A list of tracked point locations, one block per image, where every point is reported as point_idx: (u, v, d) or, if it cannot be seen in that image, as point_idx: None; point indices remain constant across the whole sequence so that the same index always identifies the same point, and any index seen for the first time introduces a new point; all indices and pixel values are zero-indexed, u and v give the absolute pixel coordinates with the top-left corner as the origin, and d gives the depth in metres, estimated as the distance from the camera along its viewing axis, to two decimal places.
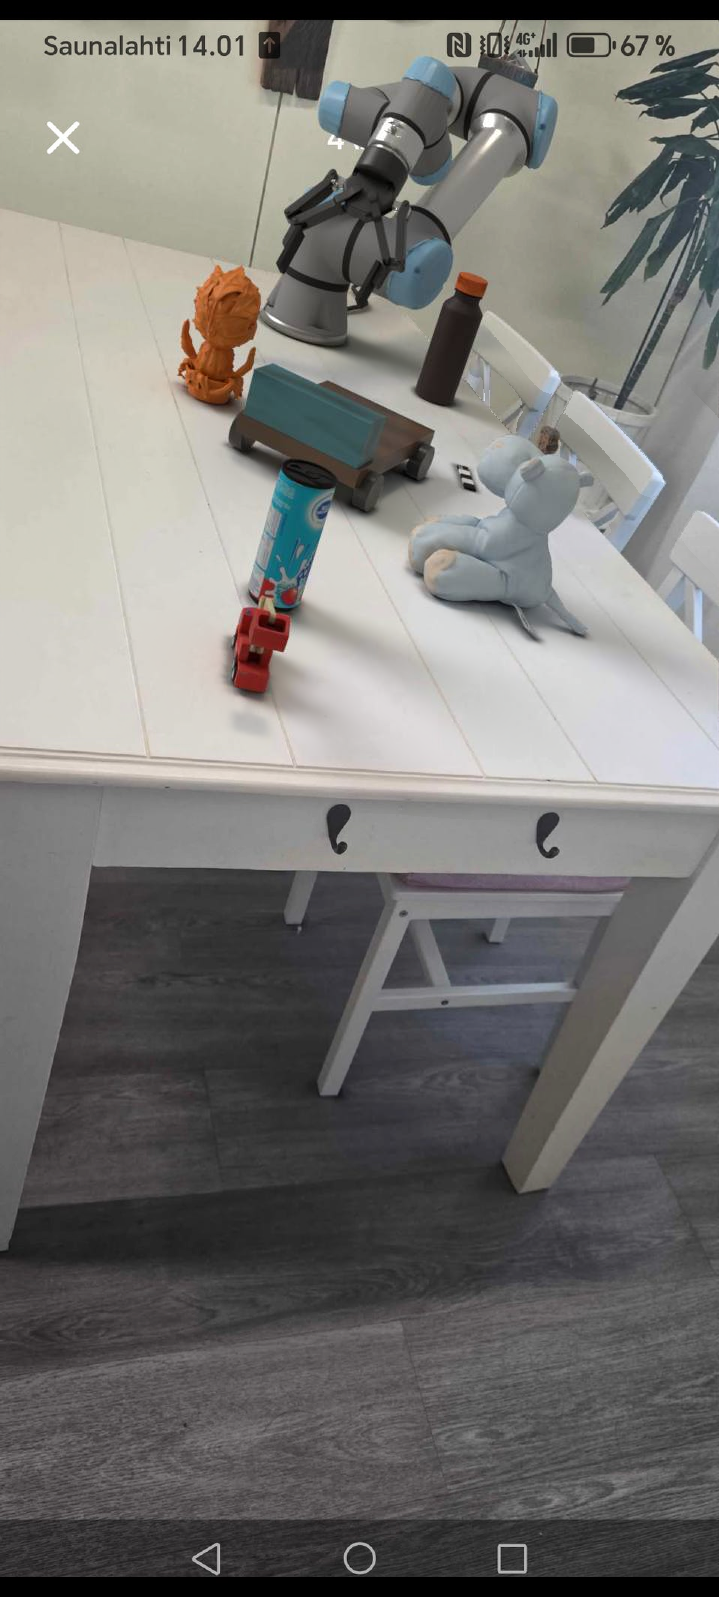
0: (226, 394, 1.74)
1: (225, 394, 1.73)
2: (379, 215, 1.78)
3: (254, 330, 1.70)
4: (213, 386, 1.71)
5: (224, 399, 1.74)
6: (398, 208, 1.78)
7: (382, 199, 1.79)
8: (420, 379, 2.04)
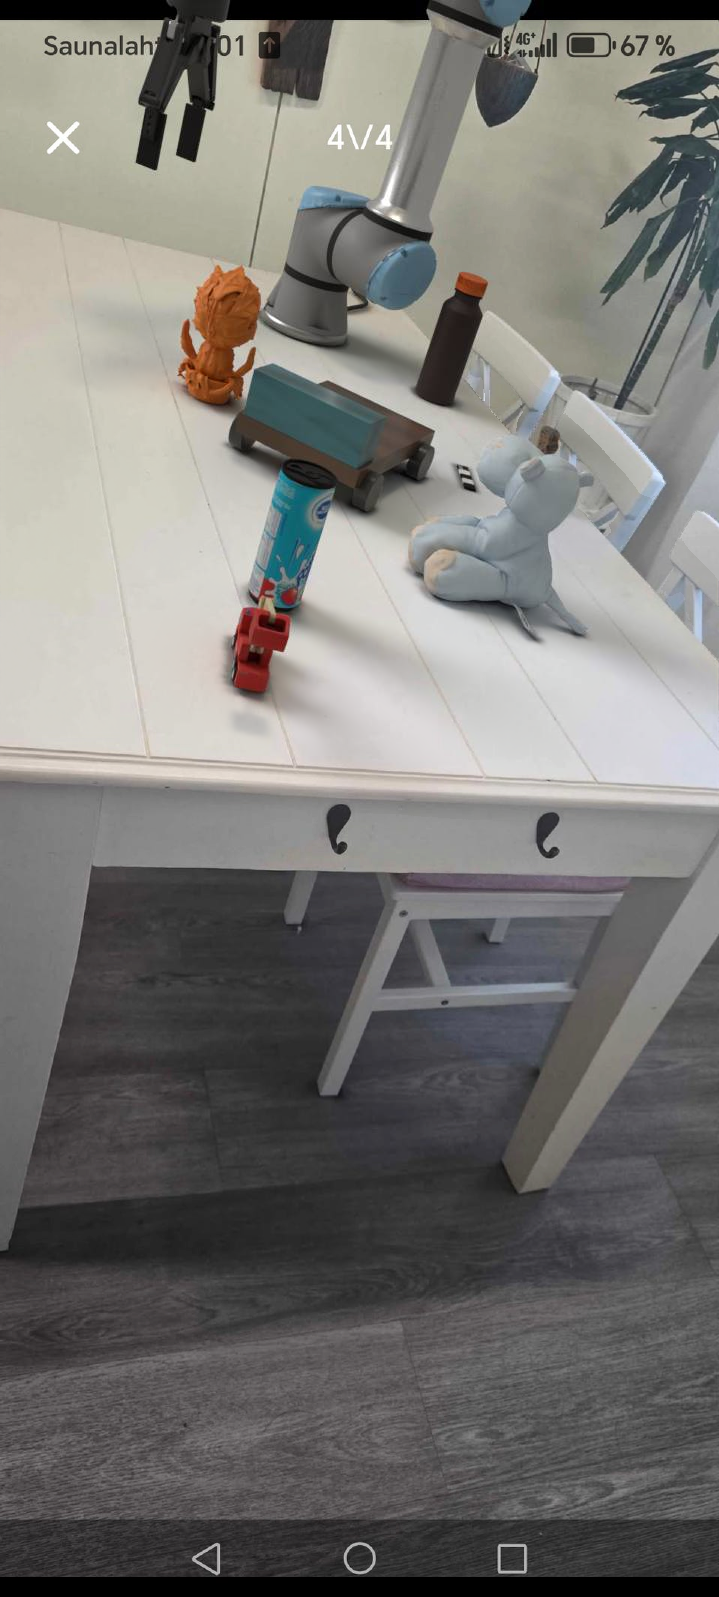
0: (226, 394, 1.74)
1: (225, 394, 1.73)
2: None
3: (254, 330, 1.70)
4: (213, 386, 1.71)
5: (224, 399, 1.74)
6: None
7: None
8: (420, 379, 2.04)
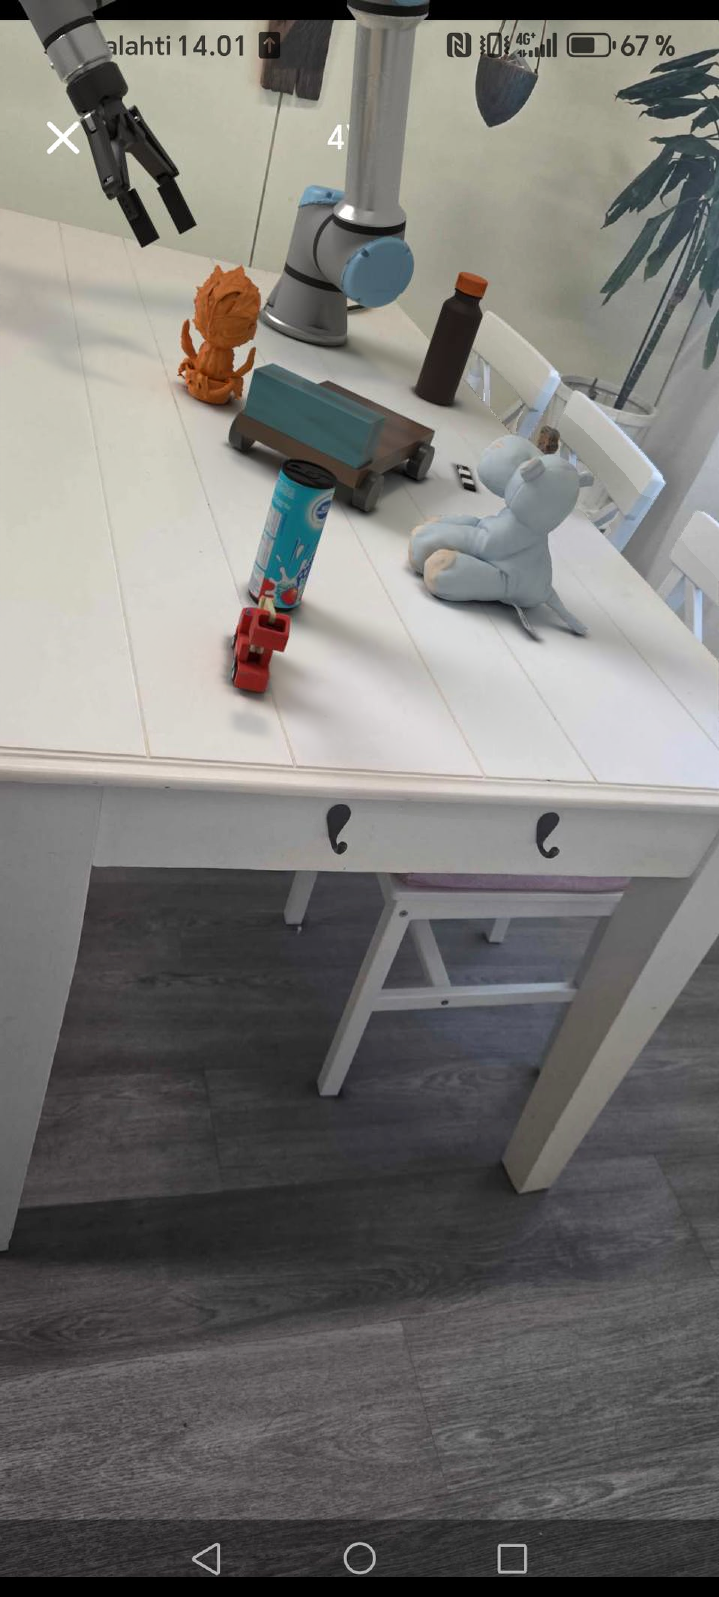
0: (226, 394, 1.74)
1: (225, 394, 1.73)
2: None
3: (254, 330, 1.70)
4: (213, 386, 1.71)
5: (224, 399, 1.74)
6: None
7: None
8: (420, 379, 2.04)
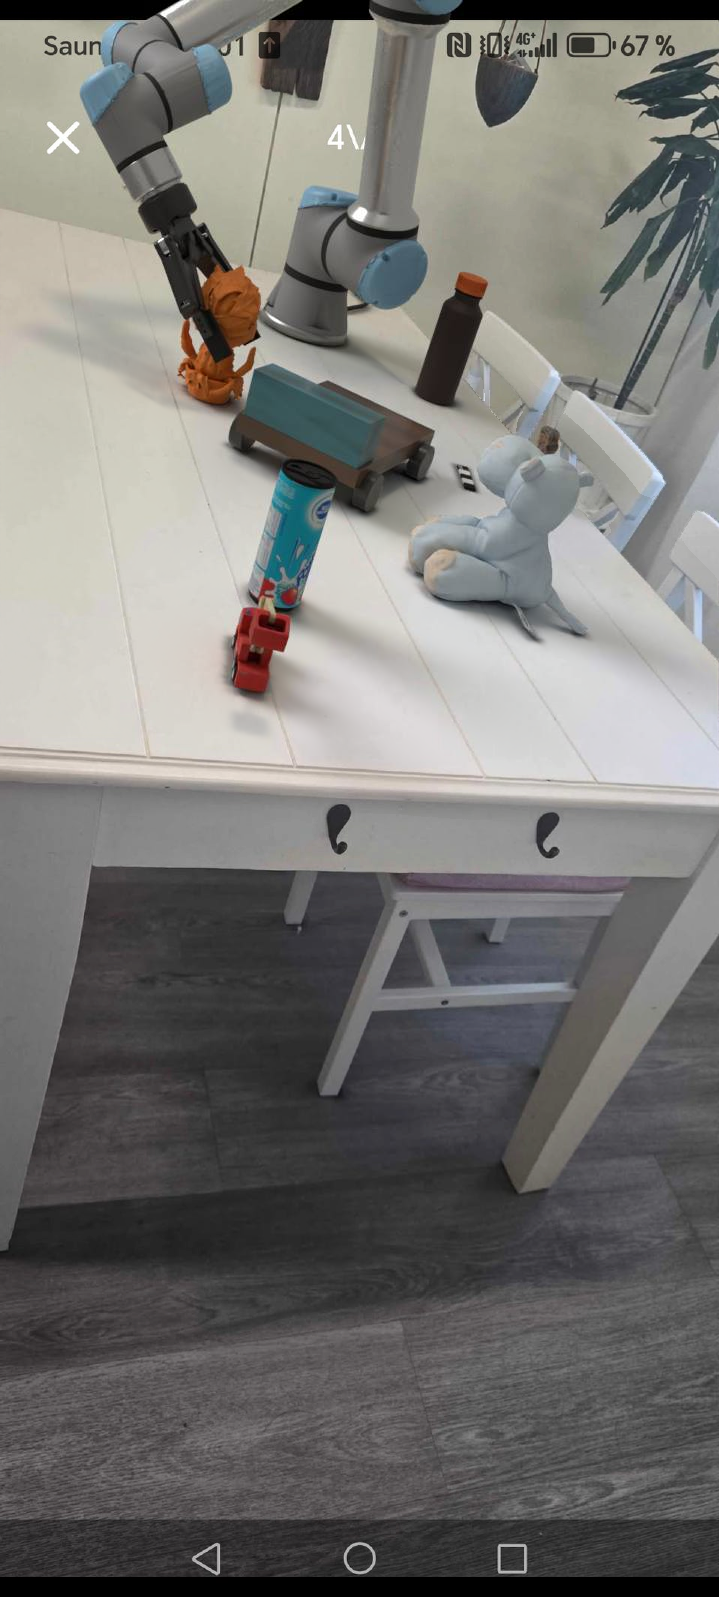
0: (226, 394, 1.74)
1: (225, 394, 1.73)
2: None
3: (254, 330, 1.70)
4: (213, 386, 1.71)
5: (224, 399, 1.74)
6: None
7: None
8: (420, 379, 2.04)
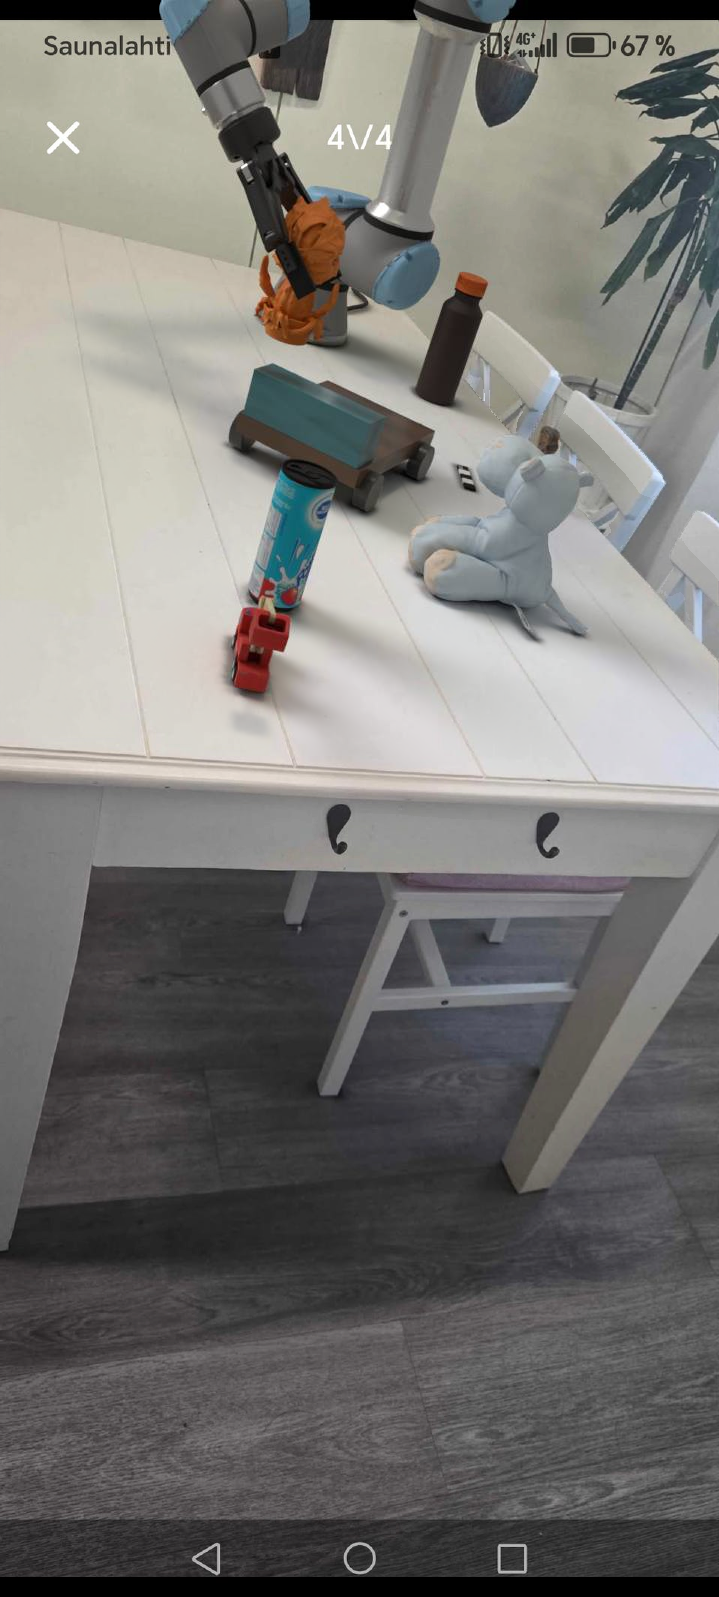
0: (306, 335, 1.64)
1: (305, 335, 1.64)
2: None
3: (337, 266, 1.61)
4: (293, 326, 1.62)
5: (303, 340, 1.65)
6: None
7: None
8: (420, 379, 2.04)
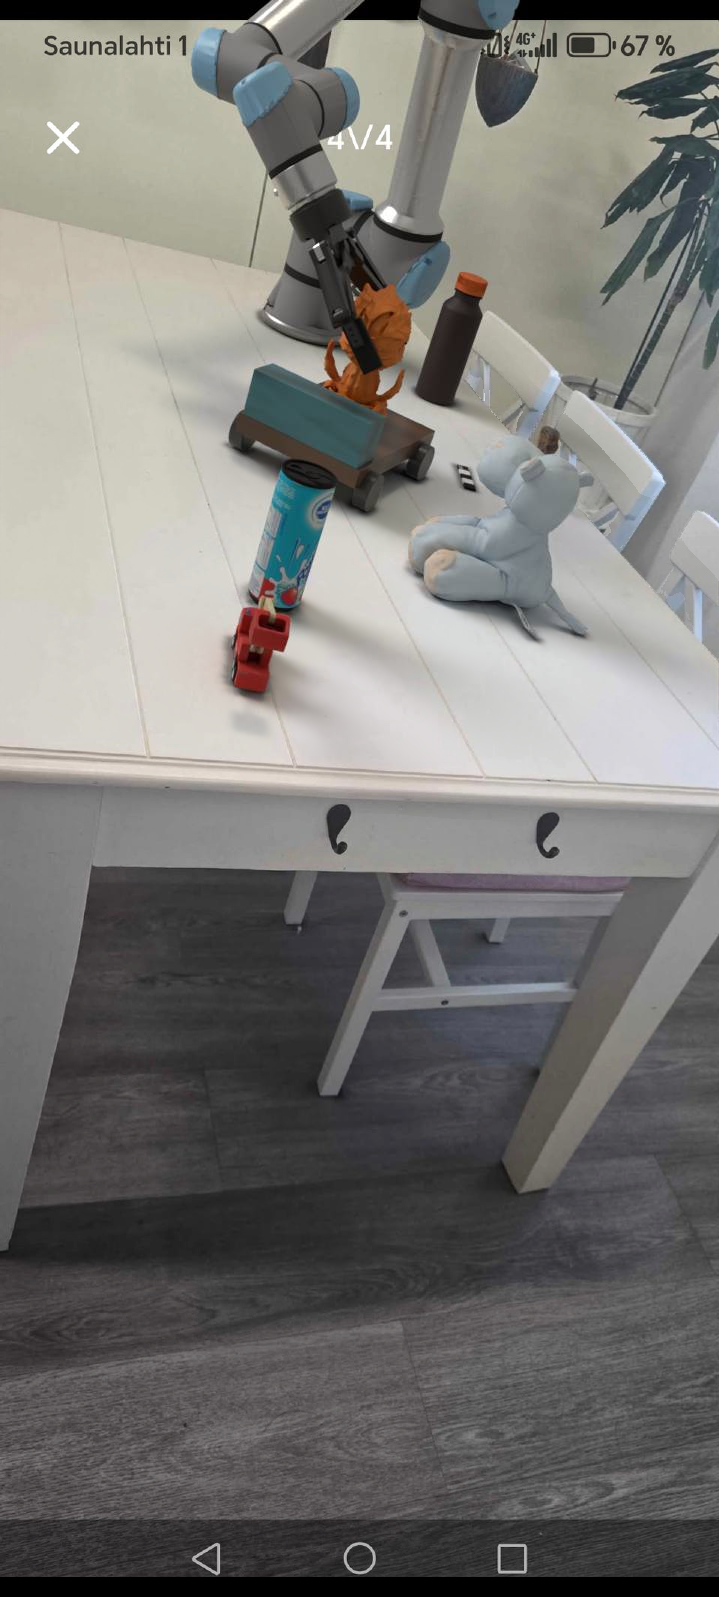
0: None
1: None
2: None
3: (403, 351, 1.62)
4: None
5: None
6: None
7: None
8: (420, 379, 2.04)
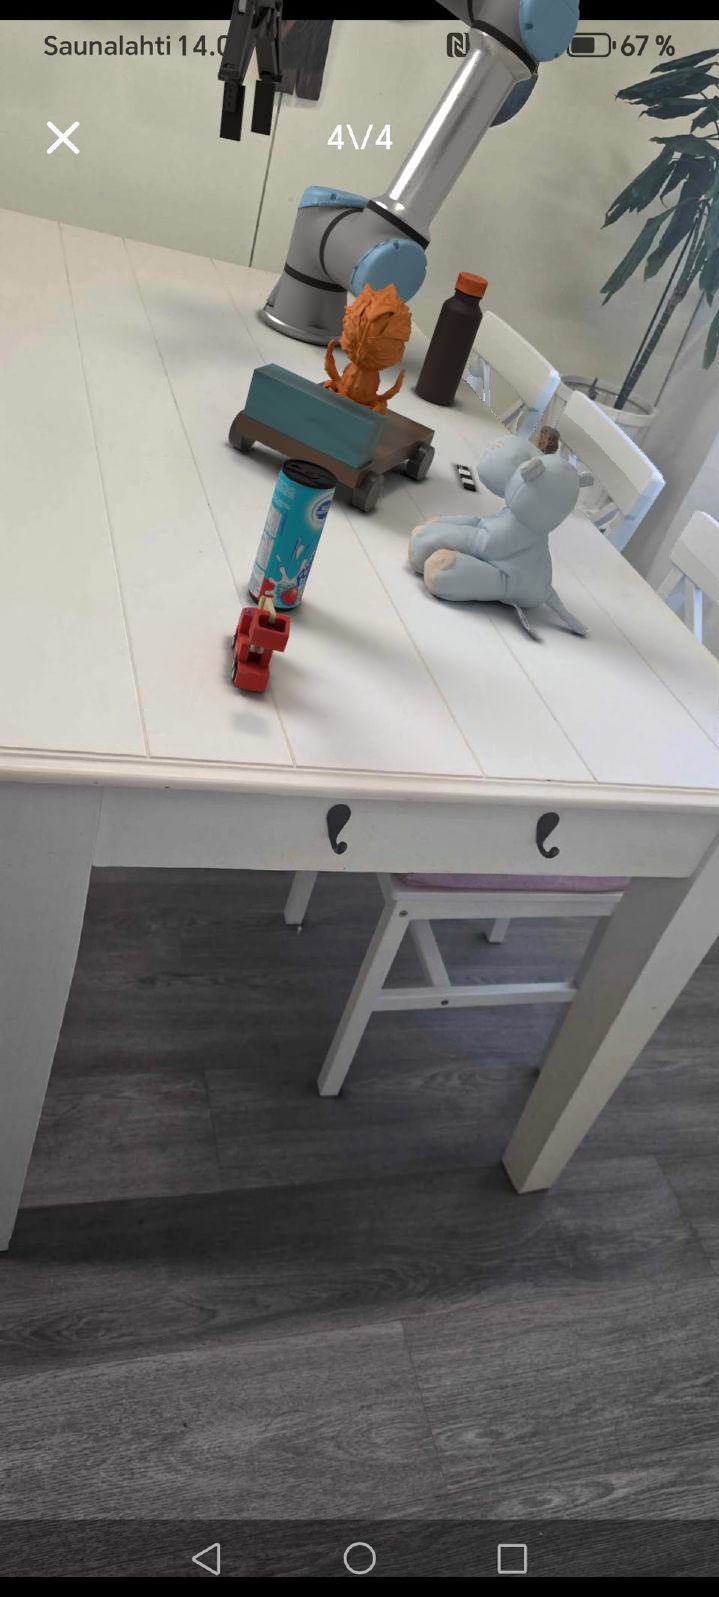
0: None
1: None
2: None
3: (403, 351, 1.62)
4: None
5: None
6: None
7: None
8: (420, 379, 2.04)
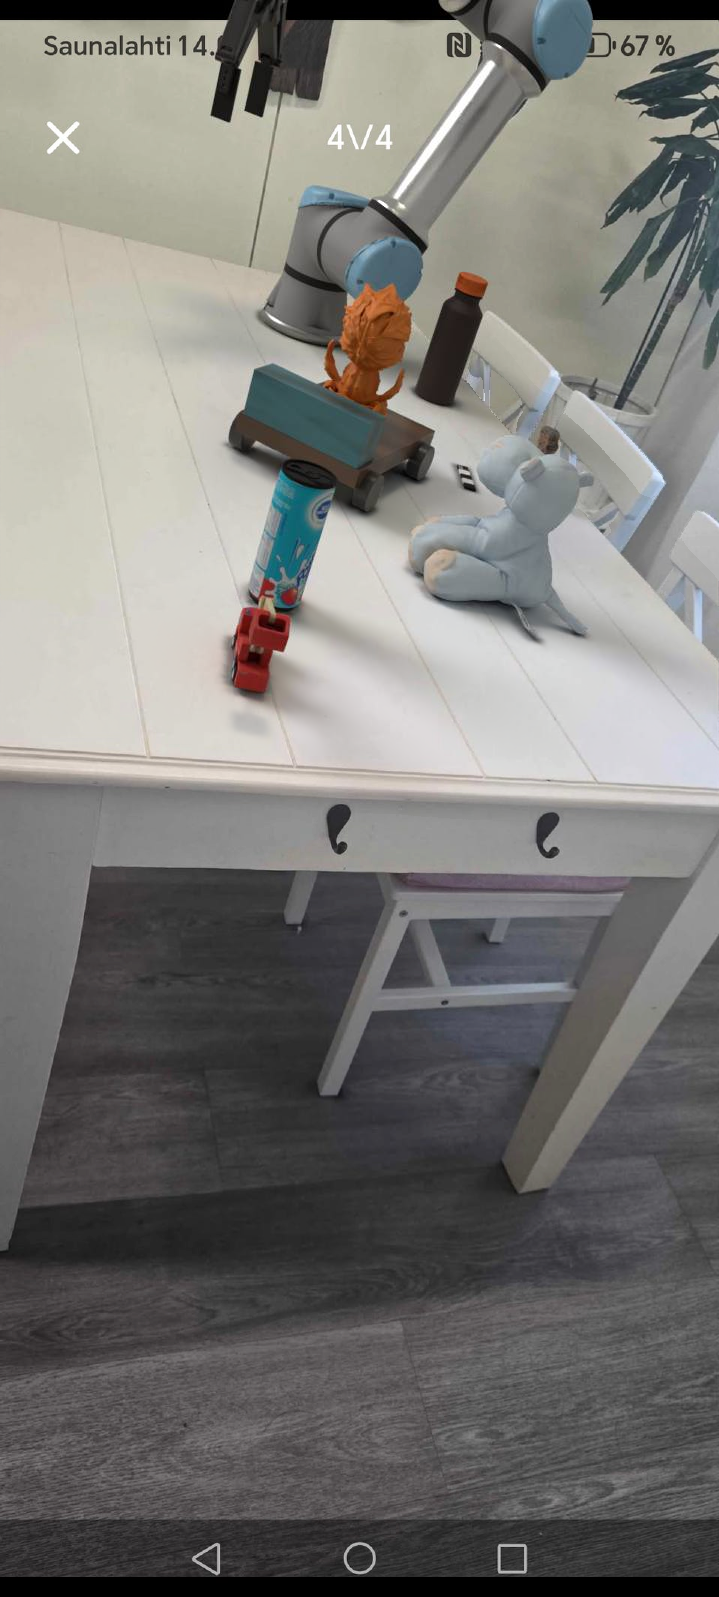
0: None
1: None
2: None
3: (403, 351, 1.62)
4: None
5: None
6: None
7: None
8: (420, 379, 2.04)
